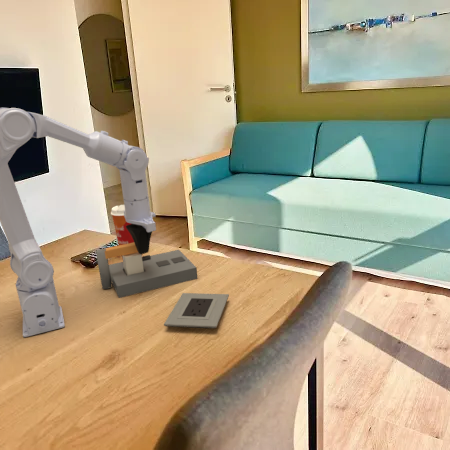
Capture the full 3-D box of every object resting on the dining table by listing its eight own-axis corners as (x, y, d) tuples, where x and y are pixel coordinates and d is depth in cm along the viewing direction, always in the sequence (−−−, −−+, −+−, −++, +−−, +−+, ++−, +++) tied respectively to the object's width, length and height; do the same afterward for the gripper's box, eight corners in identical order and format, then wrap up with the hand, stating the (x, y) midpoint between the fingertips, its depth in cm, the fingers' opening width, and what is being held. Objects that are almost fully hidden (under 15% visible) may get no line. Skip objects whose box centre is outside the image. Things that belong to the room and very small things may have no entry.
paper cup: (114, 251, 130) (107, 206, 126) (140, 246, 133) (133, 201, 129) (120, 260, 123) (112, 212, 119) (146, 254, 126) (140, 207, 122)
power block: (197, 278, 109) (196, 266, 108) (118, 297, 101) (116, 285, 100) (180, 259, 121) (178, 249, 120) (108, 275, 114) (106, 264, 113)
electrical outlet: (216, 335, 84) (215, 324, 84) (165, 333, 87) (163, 322, 86) (229, 302, 97) (228, 293, 96) (183, 301, 99) (182, 291, 98)
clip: (102, 289, 105) (96, 253, 102) (101, 285, 108) (95, 250, 105) (152, 278, 110) (147, 242, 107) (149, 274, 112) (145, 239, 109)
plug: (154, 280, 109) (151, 252, 107) (129, 286, 107) (125, 257, 105) (150, 274, 113) (147, 247, 111) (126, 280, 111) (121, 252, 108)
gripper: (165, 200, 97) (171, 257, 101) (140, 189, 109) (147, 240, 113) (135, 206, 93) (143, 265, 98) (112, 195, 105) (120, 247, 109)
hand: (143, 252), depth 105 cm, fingers closed
